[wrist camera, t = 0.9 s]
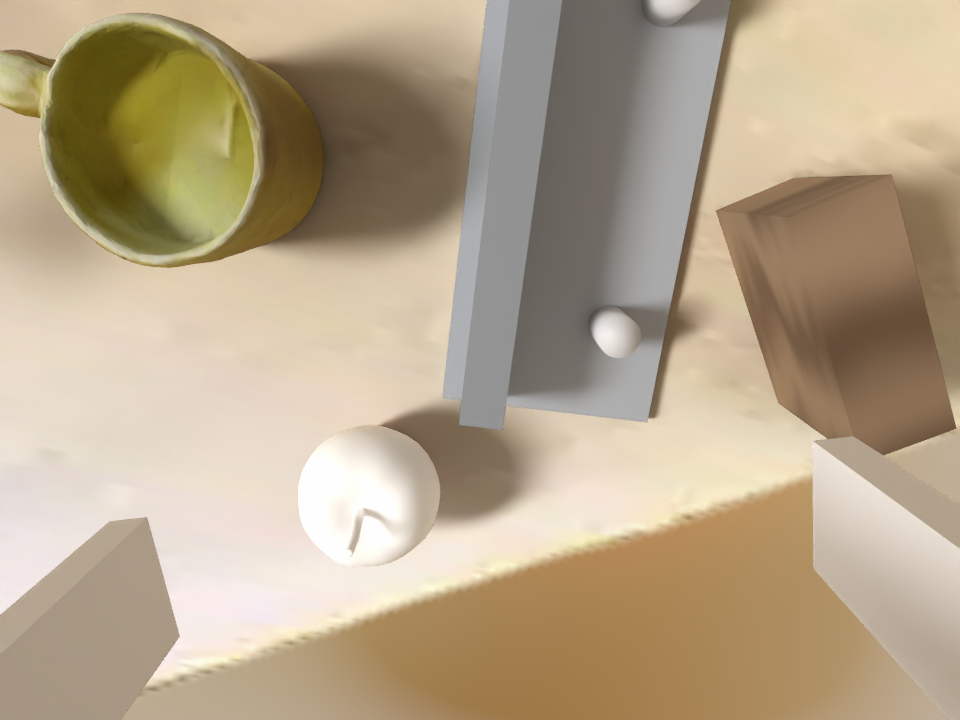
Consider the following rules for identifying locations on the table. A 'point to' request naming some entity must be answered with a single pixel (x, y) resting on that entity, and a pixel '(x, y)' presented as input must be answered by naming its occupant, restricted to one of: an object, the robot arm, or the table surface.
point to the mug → (167, 140)
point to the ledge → (577, 202)
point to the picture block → (840, 308)
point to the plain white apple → (368, 496)
